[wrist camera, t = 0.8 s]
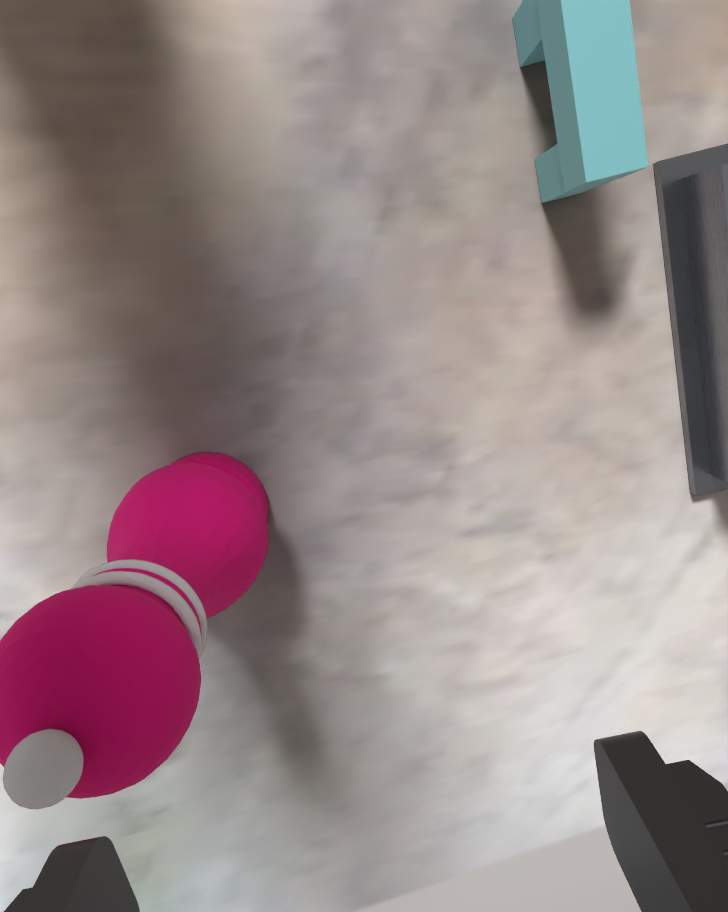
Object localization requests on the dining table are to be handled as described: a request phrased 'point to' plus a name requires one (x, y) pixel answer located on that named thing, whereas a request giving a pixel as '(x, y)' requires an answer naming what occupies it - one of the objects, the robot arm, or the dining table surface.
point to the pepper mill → (128, 635)
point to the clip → (585, 91)
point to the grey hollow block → (698, 304)
